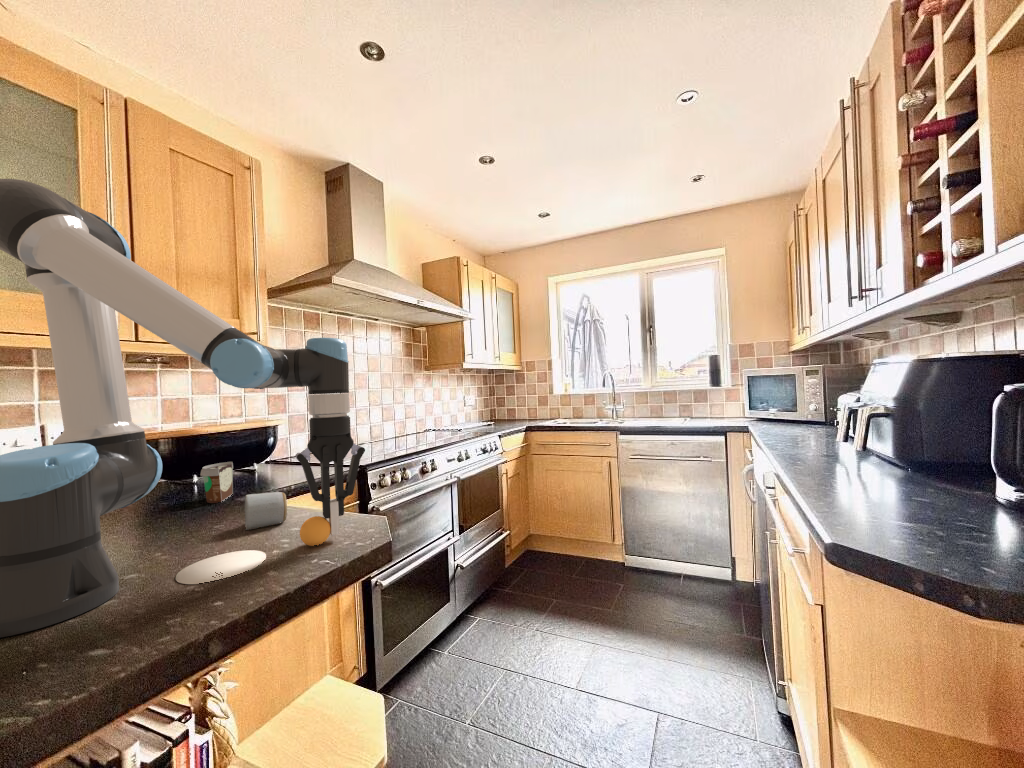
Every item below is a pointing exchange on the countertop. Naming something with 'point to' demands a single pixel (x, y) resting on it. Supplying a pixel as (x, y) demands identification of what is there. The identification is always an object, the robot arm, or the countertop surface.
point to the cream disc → (220, 566)
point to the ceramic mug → (265, 509)
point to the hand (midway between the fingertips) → (334, 532)
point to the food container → (218, 481)
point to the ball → (315, 531)
